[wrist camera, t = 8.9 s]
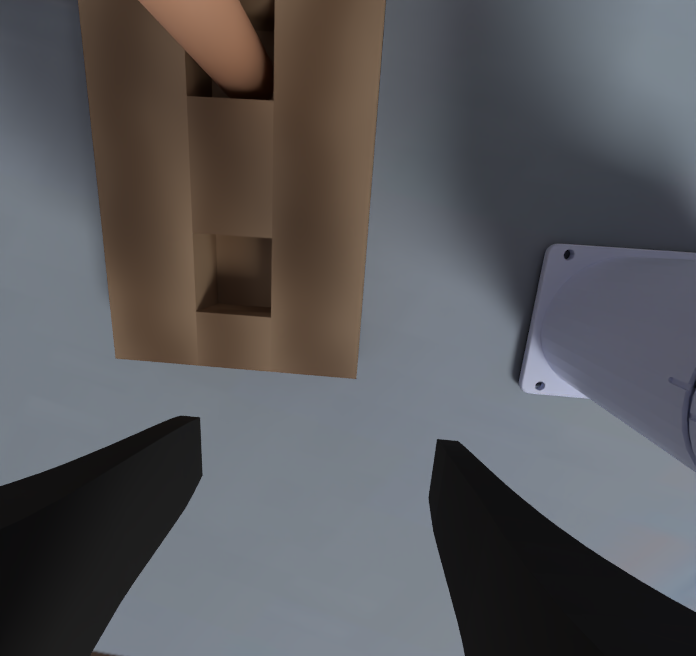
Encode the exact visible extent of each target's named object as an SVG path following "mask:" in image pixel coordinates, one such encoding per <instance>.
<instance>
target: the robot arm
mask: <svg viewBox="0 0 696 656" xmlns="http://www.w3.org/2000/svg"><path fill="white" fill-rule="evenodd" d="M566 250H569V252H570V256H569V258H568V259H565V258H564V253H565V251H566ZM538 382H541V383H542V384H541V386H539V387H537V388H535V385H536V383H538ZM519 387H520V388H521V389H522V390H523V391H524V392H526V393H531V394H542V395H554V396H566V397H578V398H589V399H591V400H592V401H594V402H595V403H597V404H598V405H599V406H601V407H602V408H604V409H605V410H607V411H608V412H609V413H611V414H612V415H614V416H615V417H617V418H618V419H620V420H621V421H622V422H624V423H625V424H627V425H628V426H630V427H631V428H633V429H634V430H635V431H637V432H638V433H640V434H641V435H643V436H644V437H646V438H647V439H648V440H650V441H651V442H653V443H654V444H656V445H657V446H658V447H660V448H661V449H663V450H664V451H666V452H667V453H669V454H670V455H671V456H673V457H674V458H676V459H677V460H679V461H680V462H682V463H683V464H684V465H686V466H687V467H689V468H690V469H692V470H693V471H695V472H696V253H691V252H677V251H662V250H647V249H632V248H617V247H602V246H588V245H573V244H553V245H551V246H549V247H548V248H547V249H546V252H545V255H544V260H543V265H542V270H541V275H540V280H539V285H538V290H537V295H536V300H535V304H534V309H533V314H532V319H531V324H530V329H529V334H528V339H527V344H526V349H525V354H524V358H523V363H522V368H521V373H520V378H519ZM201 477H202V454H201V430H200V417H190V416H178V417H175V418H172V419H169V420H167V421H164V422H162V423H160V424H157V425H155V426H153V427H150V428H148V429H146V430H144V431H141V432H139V433H137V434H135V435H132V436H130V437H128V438H125V439H123V440H121V441H119V442H116V443H114V444H112V445H110V446H107V447H105V448H102V449H100V450H97V451H95V452H93V453H90V454H88V455H85V456H83V457H80V458H78V459H75V460H73V461H71V462H68V463H66V464H63V465H60V466H58V467H55V468H52V469H50V470H47V471H44V472H41V473H39V474H36V475H33V476H30V477H27V478H24V479H21V480H18V481H15V482H12V483H9V484H6V485H3V486H0V656H90V655H91V653H92V651H93V649H94V648H95V646H96V644H97V642H98V641H99V639H100V637H101V636H102V634H103V632H104V630H105V629H106V627H107V625H108V623H109V622H110V620H111V618H112V617H113V615H114V613H115V611H116V610H117V608H118V606H119V605H120V603H121V601H122V600H123V598H124V597H125V595H126V594H127V592H128V591H129V589H130V588H131V586H132V584H133V583H134V582H135V580H136V579H137V577H138V576H139V574H140V573H141V572H142V570H143V569H144V567H145V566H146V564H147V563H148V562H149V560H150V559H151V557H152V556H153V554H154V553H155V551H156V550H157V549H158V547H159V546H160V544H161V543H162V541H163V540H164V539H165V537H166V536H167V534H168V533H169V531H170V530H171V528H172V527H173V526H174V524H175V523H176V521H177V520H178V518H179V517H180V515H181V514H182V512H183V511H184V509H185V508H186V506H187V504H188V502H189V501H190V499H191V497H192V495H193V493H194V491H195V489H196V487H197V485H198V483H199V481H200V479H201ZM429 505H430V512H431V519H432V525H433V532H434V536H435V540H436V544H437V548H438V551H439V555H440V559H441V563H442V566H443V570H444V574H445V577H446V581H447V585H448V588H449V592H450V596H451V599H452V603H453V607H454V611H455V614H456V618H457V622H458V626H459V630H460V634H461V639H462V643H463V648H464V654H465V656H696V612H694V611H693V610H691V609H689V608H687V607H685V606H683V605H682V604H680V603H678V602H676V601H674V600H672V599H671V598H669V597H667V596H665V595H664V594H662V593H660V592H659V591H657V590H655V589H653V588H652V587H650V586H648V585H646V584H645V583H643V582H641V581H640V580H638V579H636V578H635V577H633V576H632V575H630V574H628V573H627V572H625V571H624V570H622V569H620V568H619V567H617V566H616V565H614V564H612V563H611V562H609V561H608V560H606V559H604V558H603V557H601V556H600V555H598V554H597V553H595V552H594V551H592V550H591V549H589V548H588V547H586V546H585V545H583V544H582V543H580V542H579V541H578V540H576V539H575V538H573V537H572V536H571V535H569V534H568V533H566V532H565V531H563V530H562V529H561V528H559V527H558V526H556V525H555V524H554V523H552V522H551V521H550V520H548V519H547V518H546V517H545V516H543V515H542V514H541V513H539V512H538V511H537V510H536V509H535V508H533V507H532V506H531V505H530V504H528V503H527V502H526V501H525V500H523V499H522V498H521V497H520V496H519V495H517V494H516V493H515V492H514V491H513V490H512V489H510V488H509V487H508V486H507V485H506V484H505V483H504V482H502V481H501V480H500V479H499V478H498V477H497V476H496V475H495V474H494V473H492V472H491V471H490V470H489V469H488V468H487V467H486V466H485V465H484V464H483V463H482V462H481V461H480V460H478V459H477V458H476V457H475V456H474V455H473V454H472V453H471V452H470V451H469V450H468V449H467V448H466V447H464V446H463V445H462V444H461V443H460V442H458V441H451V440H440V439H437V444H436V451H435V457H434V464H433V471H432V478H431V485H430V491H429Z"/></svg>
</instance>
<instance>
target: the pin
mask: <svg viewBox="0 0 696 656" xmlns="http://www.w3.org/2000/svg"><path fill="white" fill-rule="evenodd" d="M138 1H139V2H140V3H141V4H142V5H143V6H144V7H145V8H146V9H147V10H148V11H149V12H150V13H151V14H152V15H153V17H154V18H155V19H156V20H157V21H158V22H159V23H160V24H161V25H162V26H163V27H164V28H165V29H166V30H167V31H168V33H169V34H170V35H171V36H172V37H173V38H174V39H175V40H176V41H177V42H178V43H179V44H180V45H181V46H182V47H183V48H184V50H185V51H186V52H187V53H188V54H189V55H190V56H191V57H192V58H193V59H194V60H195V61H196V62H197V63H198V64H199V66H200V67H201V68H202V69H203V70H204V71H205V72H206V73H207V74H208V75H209V76H210V77H211V78H212V79H213V80H214V82H215V83H216V84H217V85H218V86H219V87H220V88H221V89H222V90H223V91H224V92H225V93H226V94H227V95H228V96H229V97H230V98H234V99H253V100H269V99H270V97H271V96H272V94H273V92H274V66H273V64H272V62H271V60H270V58H269V56H268V54H267V52H266V51H265V49H264V47H263V45H262V43H261V41H260V39H259V37H258V35H257V33H256V32H255V30H254V28H253V26H252V24H251V22H250V20H249V18H248V16H247V14H246V13H245V11H244V9H243V7H242V5H241V3H240V1H239V0H138Z"/></svg>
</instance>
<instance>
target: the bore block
mask: <svg viewBox="0 0 696 656" xmlns="http://www.w3.org/2000/svg"><path fill="white" fill-rule="evenodd" d="M239 1H240V3H241V5H242V7H243V9H244V11H245V13H246V14H247V16H248V18H249V20H250V22H251V24H252V26H253V28H254V30H255V32H256V33H257V35H258V37H259V39H260V41H261V43H262V45H263V47H264V49H265V51H266V52H267V54H268V56H269V58H270V60H271V62H272V64H273V66H274V92H273V94H272V96H271V97H270V99H269V100H253V99H234V98H230V97H229V96H228V95H227V94H226V93H225V92H224V91H223V90H222V89H221V88H220V87H219V86H218V85H217V84H216V83H215V82H214V80H213V79H212V78H211V77H210V76H209V75H208V74H207V73H206V72H205V71H204V70H203V69H202V68H201V67H200V66H199V64H198V63H197V62H196V61H195V60H194V59H193V58H192V57H191V56H190V55H189V54H188V53H187V52H186V51H185V50H184V48H183V47H182V46H181V45H180V44H179V43H178V42H177V41H176V40H175V39H174V38H173V37H172V36H171V35H170V34H169V33H168V31H167V30H166V29H165V28H164V27H163V26H162V25H161V24H160V23H159V22H158V21H157V20H156V19H155V18H154V17H153V15H152V14H151V13H150V12H149V11H148V10H147V9H146V8H145V7H144V6H143V5H142V4H141V3H140V2H139V1H138V0H78V6H79V15H80V25H81V34H82V44H83V53H84V63H85V72H86V82H87V91H88V101H89V110H90V120H91V129H92V139H93V148H94V158H95V167H96V176H97V186H98V195H99V205H100V214H101V224H102V233H103V243H104V252H105V262H106V271H107V281H108V290H109V300H110V309H111V319H112V328H113V338H114V347H115V356H116V358H117V359H129V360H140V361H152V362H164V363H176V364H187V365H199V366H211V367H223V368H234V369H246V370H258V371H270V372H281V373H293V374H305V375H317V376H328V377H340V378H352V379H356V374H357V363H358V351H359V338H360V325H361V313H362V300H363V287H364V274H365V262H366V249H367V236H368V223H369V210H370V198H371V185H372V172H373V159H374V147H375V134H376V121H377V108H378V95H379V83H380V70H381V57H382V44H383V32H384V19H385V6H386V0H239Z"/></svg>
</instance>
